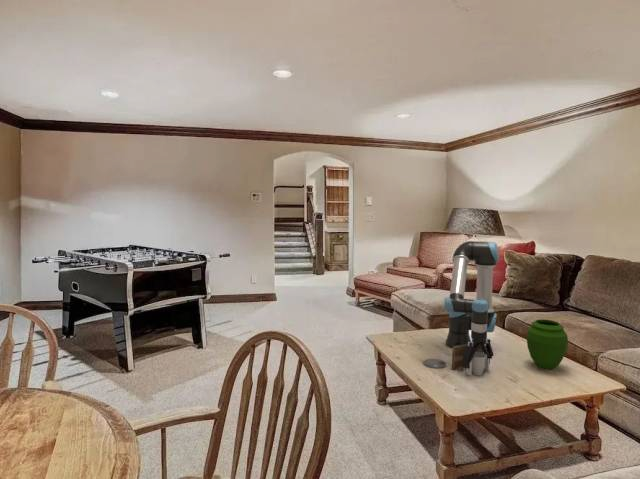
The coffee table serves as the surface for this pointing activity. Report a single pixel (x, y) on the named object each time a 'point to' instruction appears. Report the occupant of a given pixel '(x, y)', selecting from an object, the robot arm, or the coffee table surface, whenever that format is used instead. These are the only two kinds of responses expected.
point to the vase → (547, 343)
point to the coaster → (434, 363)
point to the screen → (459, 357)
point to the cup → (478, 363)
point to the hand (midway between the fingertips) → (477, 372)
